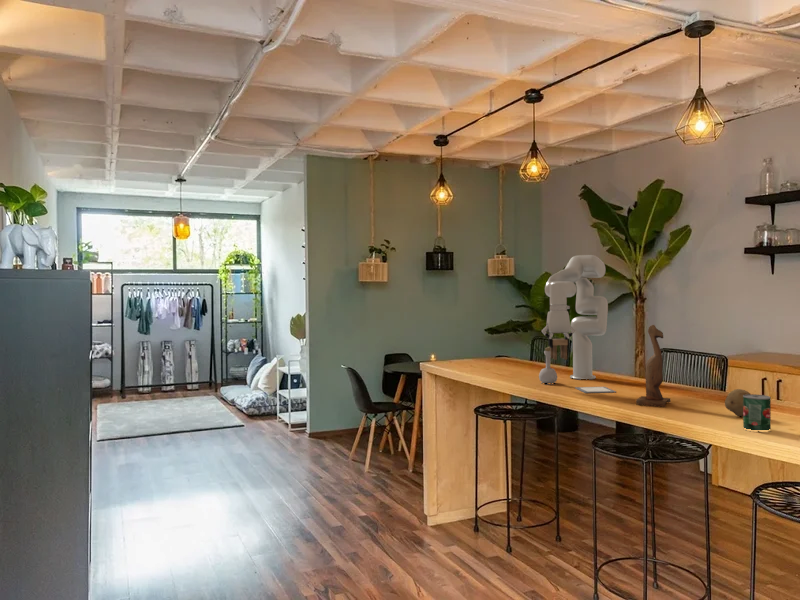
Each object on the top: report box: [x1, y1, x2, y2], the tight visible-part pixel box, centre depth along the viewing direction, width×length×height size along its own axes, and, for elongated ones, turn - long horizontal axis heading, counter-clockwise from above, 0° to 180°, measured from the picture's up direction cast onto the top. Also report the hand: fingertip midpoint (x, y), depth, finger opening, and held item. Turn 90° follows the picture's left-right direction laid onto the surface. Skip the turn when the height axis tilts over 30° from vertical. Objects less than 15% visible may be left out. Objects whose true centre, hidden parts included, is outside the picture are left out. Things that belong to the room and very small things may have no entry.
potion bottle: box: [538, 346, 558, 385], centre depth 310 cm, size 9×9×18 cm
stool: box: [550, 338, 568, 361], centre depth 293 cm, size 6×6×9 cm
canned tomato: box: [742, 393, 772, 430], centre depth 208 cm, size 8×8×11 cm
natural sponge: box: [724, 388, 751, 417], centre depth 228 cm, size 9×9×10 cm
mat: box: [574, 386, 617, 394], centre depth 288 cm, size 14×14×1 cm
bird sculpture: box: [635, 324, 672, 408], centre depth 254 cm, size 11×12×32 cm
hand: (558, 347), depth 293 cm, fingers closed on stool, 6 cm apart
